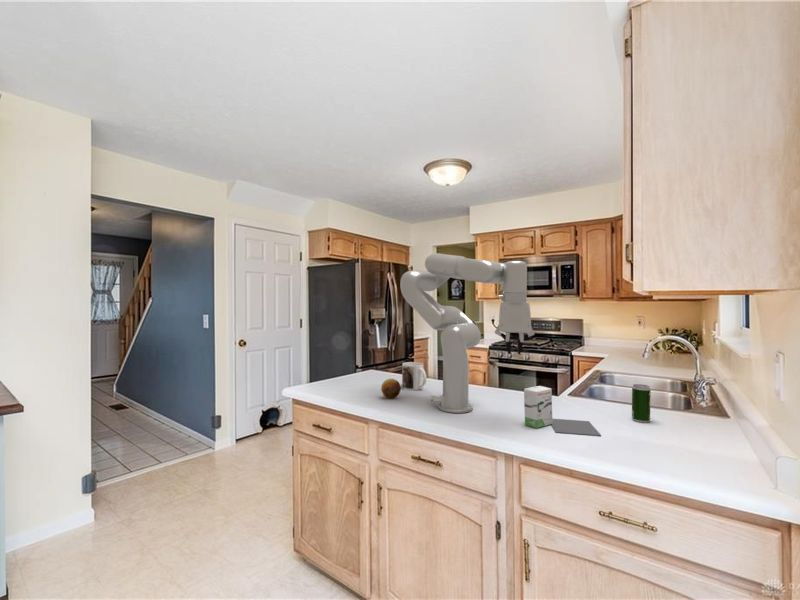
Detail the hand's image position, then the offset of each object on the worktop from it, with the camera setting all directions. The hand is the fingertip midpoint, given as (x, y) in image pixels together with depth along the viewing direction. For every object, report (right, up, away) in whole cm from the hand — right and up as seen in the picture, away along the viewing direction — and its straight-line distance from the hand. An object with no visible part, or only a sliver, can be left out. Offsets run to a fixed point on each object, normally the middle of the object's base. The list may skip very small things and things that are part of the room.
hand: (514, 353), depth 129 cm
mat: (+18, -23, -4) cm, 30 cm away
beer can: (+45, -24, +4) cm, 51 cm away
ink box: (+8, -23, -2) cm, 25 cm away
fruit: (-42, -23, +30) cm, 57 cm away
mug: (-32, -23, +49) cm, 63 cm away
